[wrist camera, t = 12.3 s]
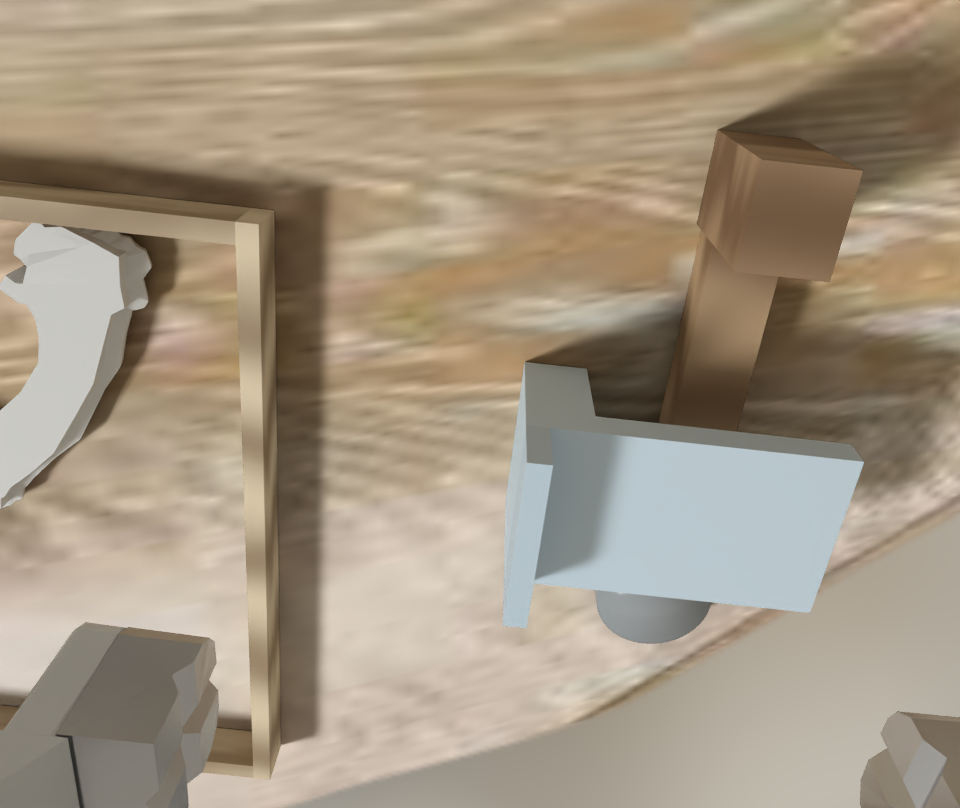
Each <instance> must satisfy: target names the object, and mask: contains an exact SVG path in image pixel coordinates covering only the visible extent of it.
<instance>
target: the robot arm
mask: <svg viewBox="0 0 960 808" xmlns="http://www.w3.org/2000/svg"><path fill="white" fill-rule="evenodd" d="M215 665H216V652H215V642H214V641H213V640H211V639H210V638H206V637H199V636H191V635H184V634H176V633H168V632H161V631H153V630H146V629H138V628H131V627H128V628H123V627H116V626H109V625H101V624H94V623H87V622H86V623H84V624H83V625H81V626H80V627H78V628H77V629H75V630H74V631H73V632H72V634H71V635H70V636H69V638H68V639H67V641H66V642H65V644H64V645H63V646H62V648H61V649H60V651H59V652H58V653H57V655H56V656H55V658H54V659H53V661H52V662H51V663H50V665H49V666H48V668H47V669H46V671H45V672H44V673H43V675H42V676H41V678H40V679H39V681H38V682H37V683H36V685H35V686H34V688H33V689H32V691H31V692H30V693H29V695H28V696H27V698H26V699H25V700H24V702H23V703H22V705H21V706H20V708H19V709H18V710H17V712H16V713H15V715H14V716H13V718H12V719H11V720H10V722H9V723H8V725H7V726H6V728H5V729H4V730H3V731H2V730H0V808H188V806H189V805H188V791H187V783H189V782H190V781H191V780H193V779H194V778H195V777H197V776H198V775H199V774H201V773H202V772H203V769H204V767H205V764H206V761H207V759H208V756H209V754H210V751H211V747H212V743H213V739H214V735H215V731H216V727H217V719H218V708H219V701H218V690H217V689H216V687H215V686H214V685H213V684H212V683H211V682H210V681H209V678H210V676H211V674H212V672H213V669H214V667H215ZM881 736H882V738H883V740H884V742H885V744H886V746H887V749H885V750H883V751H882V752H880V753H879V754H877V755H876V756H874V757H872V758H871V759H869V760H868V763H867V765H866V768H865V770H864V773H863V776H862V778H861V791H860V805H861V808H960V717H950V716H939V715H930V714H920V713H910V712H899V711H897V712H896V713H894V714H893V715H892V716H890V717H889V718H888V719H887V721H886V723H885V726H884V727H883V730H882V732H881Z"/></svg>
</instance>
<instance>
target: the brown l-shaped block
mask: <svg viewBox="0 0 960 808" xmlns="http://www.w3.org/2000/svg"><path fill="white" fill-rule="evenodd" d="M862 173H863V170H861V169H859V168H857V167H855V166H853V165H851V164H849V163H847V162H845V161H843V160H841V159H839V158H837V157H835V156H833V155H831V154H829V153H827V152H825V151H823V150H821V149H819V148H817V147H815V146H813V145H811V144H809V143H807V142H805V141H803V140H801V139H797V138H788V137H779V136H769V135H760V134H751V133H742V132H733V131H723V130H717V134H716V139H715V143H714V148H713V152H712V157H711V161H710V166H709V171H708V175H707V180H706V184H705V189H704V194H703V198H702V203H701V207H700V212H699V216H698V221H697V225H698V226H699V227H700V229H701V233H700V238H699V242H698V247H697V251H696V256H695V260H694V265H693V269H692V274H691V279H690V283H689V288H688V292H687V297H686V301H685V306H684V310H683V315H682V319H681V324H680V328H679V333H678V337H677V342H676V346H675V351H674V355H673V360H672V364H671V369H670V373H669V378H668V382H667V387H666V391H665V396H664V400H663V405H662V409H661V414H660V418H659V423H661V424H670V425H679V426H688V427H698V428H707V429H716V430H725V431H735V432H737V428H738V425H739V421H740V417H741V413H742V410H743V406H744V402H745V399H746V395H747V391H748V388H749V384H750V380H751V377H752V373H753V369H754V366H755V362H756V358H757V355H758V351H759V347H760V344H761V340H762V336H763V332H764V329H765V325H766V321H767V318H768V314H769V310H770V307H771V303H772V299H773V296H774V292H775V288H776V285H777V281H778V277H786V278H796V279H805V280H814V281H824V282H830V280H831V276H832V273H833V270H834V266H835V263H836V260H837V256H838V253H839V250H840V246H841V243H842V240H843V236H844V233H845V230H846V226H847V223H848V220H849V217H850V213H851V210H852V207H853V203H854V200H855V197H856V193H857V190H858V187H859V183H860V180H861V177H862Z"/></svg>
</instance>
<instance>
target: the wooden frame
mask: <svg viewBox="0 0 960 808" xmlns="http://www.w3.org/2000/svg"><path fill="white" fill-rule="evenodd" d="M0 219H2V220H12V221H21V222H30V223H39V224H48V225H57V226H66V227H75V228H85V229H94V230H103V231H112V232H121V233H130V234H139V235H148V236H158V237H167V238H176V239H185V240H194V241H203V242H212V243H221V244H230V245H236V272H237V301H238V331H239V361H240V390H241V420H242V450H243V479H244V509H245V539H246V569H247V598H248V628H249V658H250V687H251V717H252V731H243V730H233V729H224V728H216V731H215V735H214V739H213V743H212V747H211V751H210V754H209V756H208V759H207V761H206V764H205V767H204V769H203V773H212V774H222V775H232V776H241V777H251V778H260V779H270V778H271V775H272V772H273V769H274V765H275V762H276V759H277V756H278V753H279V749H280V746H281V729H280V645H279V561H278V477H277V392H276V308H275V224H274V210H266V209H257V208H248V207H239V206H230V205H221V204H212V203H202V202H193V201H184V200H175V199H166V198H157V197H148V196H139V195H130V194H121V193H112V192H102V191H93V190H84V189H75V188H66V187H57V186H48V185H39V184H30V183H21V182H12V181H3V180H0ZM19 708H20V707H13V706H3V705H0V730H2V731H3V730H4V729H5V728H6V726H7V725H8V723H9V722H10V720H11V719H12V718H13V716H14V715H15V713H16V712H17V710H18V709H19Z"/></svg>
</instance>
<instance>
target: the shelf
mask: <svg viewBox="0 0 960 808" xmlns="http://www.w3.org/2000/svg"><path fill="white" fill-rule="evenodd" d="M863 464H864V461H863V459H862V458H861V457H860V455H859V454H858V453H857V451H856V450H855V449H854V447H853V446H852V445H851V444H846V443H836V442H827V441H818V440H809V439H799V438H790V437H781V436H772V435H762V434H753V433H744V432H735V431H725V430H716V429H707V428H698V427H688V426H679V425H670V424H661V423H652V422H642V421H633V420H624V419H615V418H605V417H596V416H595V411H594V405H593V400H592V395H591V389H590V384H589V378H588V373H587V369H585V368H576V367H566V366H557V365H548V364H539V363H530V362H525V363H524V371H523V378H522V385H521V393H520V400H519V407H518V415H517V422H516V429H515V437H514V444H513V451H512V459H511V466H510V473H509V481H508V488H507V495H506V510H505V554H504V598H503V626H511V627H520V628H527V622H528V616H529V610H530V604H531V598H532V592H533V585H534V583H535V584H544V585H553V586H563V587H572V588H582V589H591V590H600V591H610V592H619V593H629V594H638V595H647V596H657V597H666V598H676V599H685V600H694V601H704V602H713V603H723V604H732V605H741V606H751V607H760V608H770V609H779V610H788V611H798V612H807V613H809V612H810V611H811V608H812V606H813V603H814V600H815V597H816V595H817V592H818V589H819V586H820V584H821V581H822V578H823V575H824V572H825V570H826V567H827V564H828V561H829V559H830V556H831V553H832V550H833V547H834V545H835V542H836V539H837V536H838V534H839V531H840V528H841V525H842V523H843V520H844V517H845V514H846V511H847V509H848V506H849V503H850V500H851V498H852V495H853V492H854V489H855V486H856V484H857V481H858V478H859V475H860V473H861V470H862V467H863Z"/></svg>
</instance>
